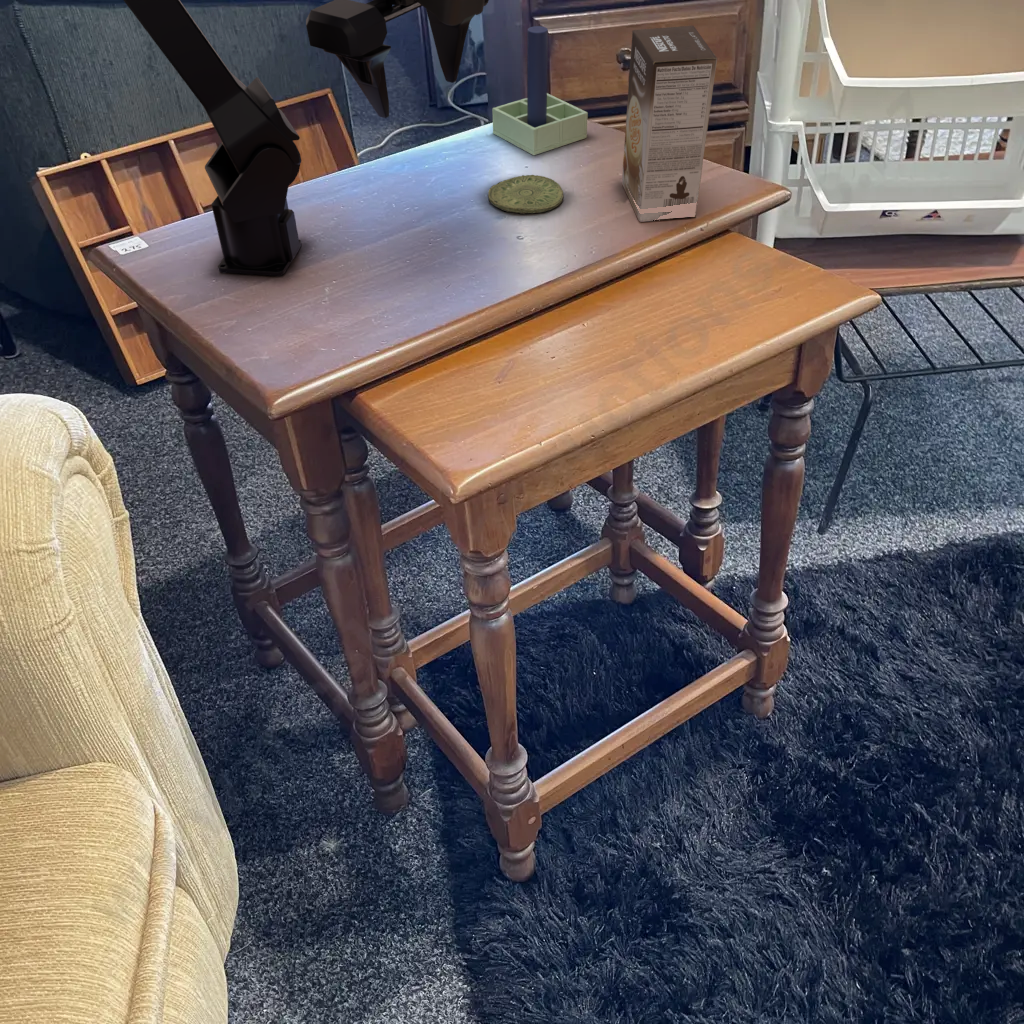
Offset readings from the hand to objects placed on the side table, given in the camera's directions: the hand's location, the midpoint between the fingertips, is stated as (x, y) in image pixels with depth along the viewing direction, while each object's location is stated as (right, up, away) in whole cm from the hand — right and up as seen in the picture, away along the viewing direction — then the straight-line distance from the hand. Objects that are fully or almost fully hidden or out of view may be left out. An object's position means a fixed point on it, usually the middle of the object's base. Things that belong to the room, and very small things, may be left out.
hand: (418, 98), depth 93 cm
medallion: (+10, -5, +13) cm, 17 cm away
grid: (+12, +6, +24) cm, 28 cm away
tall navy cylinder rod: (+12, +5, +22) cm, 25 cm away
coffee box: (+24, -6, +12) cm, 28 cm away
